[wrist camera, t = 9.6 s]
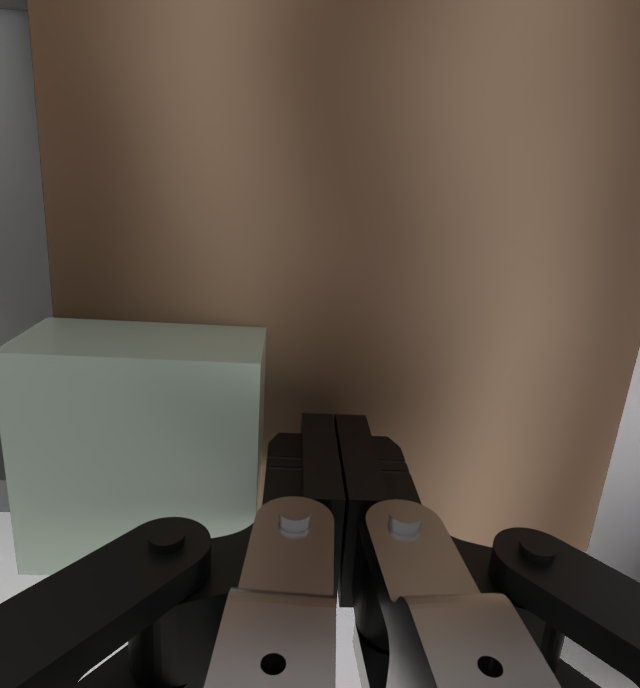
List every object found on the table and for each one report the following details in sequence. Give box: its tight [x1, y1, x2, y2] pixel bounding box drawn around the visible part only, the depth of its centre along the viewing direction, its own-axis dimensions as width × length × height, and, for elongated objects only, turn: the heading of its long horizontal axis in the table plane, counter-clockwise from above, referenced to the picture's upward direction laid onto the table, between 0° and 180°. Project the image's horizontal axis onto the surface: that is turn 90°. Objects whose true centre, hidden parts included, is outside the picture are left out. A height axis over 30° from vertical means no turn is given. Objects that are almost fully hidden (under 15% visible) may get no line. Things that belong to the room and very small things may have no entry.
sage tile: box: [0, 317, 267, 575], centre depth 12 cm, size 5×5×2 cm
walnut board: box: [27, 0, 640, 551], centre depth 15 cm, size 14×14×4 cm
